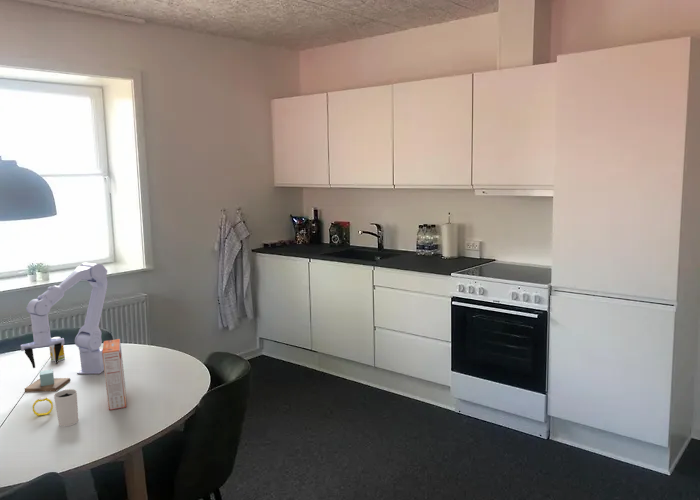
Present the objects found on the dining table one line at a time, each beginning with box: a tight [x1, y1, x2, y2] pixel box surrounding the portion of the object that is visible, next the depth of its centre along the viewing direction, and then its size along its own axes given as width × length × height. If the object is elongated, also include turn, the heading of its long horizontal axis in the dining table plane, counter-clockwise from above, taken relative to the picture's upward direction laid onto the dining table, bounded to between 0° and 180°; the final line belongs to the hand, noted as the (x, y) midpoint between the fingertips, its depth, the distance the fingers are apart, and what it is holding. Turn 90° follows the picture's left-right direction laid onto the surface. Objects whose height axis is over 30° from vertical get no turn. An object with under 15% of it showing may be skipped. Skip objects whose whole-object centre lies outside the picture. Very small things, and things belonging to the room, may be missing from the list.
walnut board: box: [24, 377, 71, 393], centre depth 222 cm, size 12×10×1 cm
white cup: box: [53, 388, 79, 427], centre depth 190 cm, size 7×7×10 cm
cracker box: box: [102, 338, 127, 411], centre depth 204 cm, size 14×6×21 cm, turn 21°
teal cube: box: [39, 368, 55, 386], centre depth 222 cm, size 4×4×4 cm
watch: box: [32, 396, 54, 417], centre depth 197 cm, size 6×3×6 cm, turn 115°
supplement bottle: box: [48, 336, 66, 362], centre depth 252 cm, size 5×5×10 cm
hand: (45, 365), depth 221 cm, fingers open, 7 cm apart
